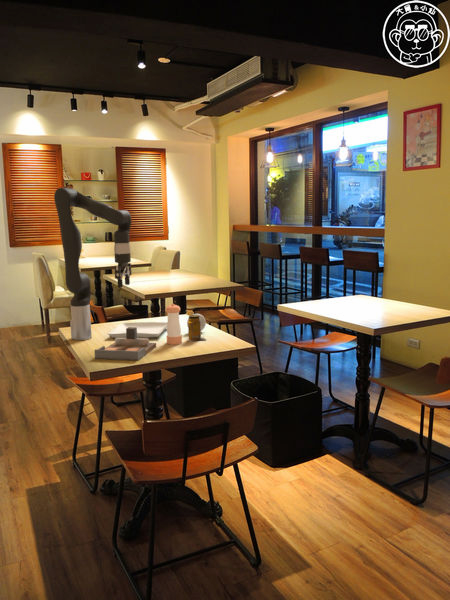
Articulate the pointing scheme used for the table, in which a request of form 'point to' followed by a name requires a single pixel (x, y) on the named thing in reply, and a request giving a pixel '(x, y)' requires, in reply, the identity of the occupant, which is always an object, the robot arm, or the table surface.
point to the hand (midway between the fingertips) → (123, 286)
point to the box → (119, 354)
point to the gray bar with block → (132, 338)
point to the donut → (202, 321)
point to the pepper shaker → (173, 325)
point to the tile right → (132, 349)
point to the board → (125, 347)
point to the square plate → (140, 329)
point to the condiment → (194, 328)
